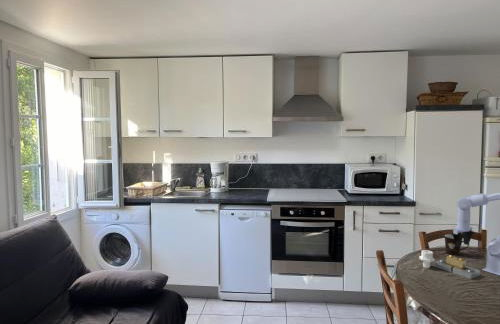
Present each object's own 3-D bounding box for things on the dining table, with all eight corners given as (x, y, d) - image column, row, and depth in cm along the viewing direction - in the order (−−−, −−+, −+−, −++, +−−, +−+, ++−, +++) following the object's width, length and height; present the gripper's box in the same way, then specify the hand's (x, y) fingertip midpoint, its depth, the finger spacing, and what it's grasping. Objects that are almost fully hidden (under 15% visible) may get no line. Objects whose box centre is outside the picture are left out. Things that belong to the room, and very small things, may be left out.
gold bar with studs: (465, 273, 172) (466, 259, 172) (462, 274, 171) (462, 260, 170) (449, 267, 179) (449, 254, 178) (445, 268, 177) (446, 255, 177)
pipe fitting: (430, 264, 183) (430, 249, 182) (435, 269, 176) (436, 254, 175) (417, 264, 184) (418, 249, 183) (422, 269, 177) (423, 253, 176)
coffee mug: (440, 252, 202) (441, 235, 201) (450, 250, 206) (451, 233, 205) (459, 258, 192) (460, 241, 191) (469, 256, 195) (470, 239, 194)
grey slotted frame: (479, 275, 169) (480, 269, 169) (470, 279, 165) (471, 272, 164) (443, 263, 184) (443, 258, 184) (434, 266, 180) (434, 260, 180)
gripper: (463, 216, 189) (461, 241, 190) (448, 220, 182) (446, 245, 183) (477, 219, 183) (475, 245, 184) (461, 223, 176) (460, 249, 177)
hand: (462, 245), depth 183 cm, fingers open, 7 cm apart
